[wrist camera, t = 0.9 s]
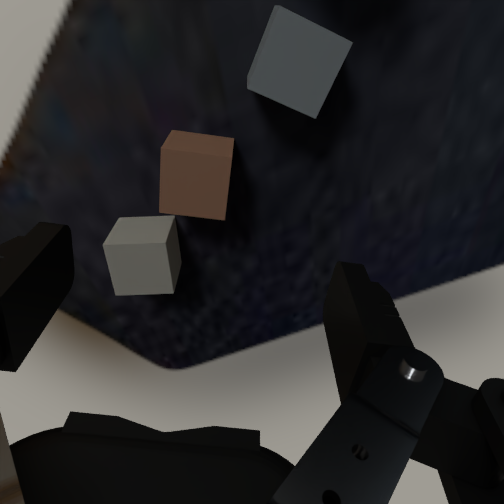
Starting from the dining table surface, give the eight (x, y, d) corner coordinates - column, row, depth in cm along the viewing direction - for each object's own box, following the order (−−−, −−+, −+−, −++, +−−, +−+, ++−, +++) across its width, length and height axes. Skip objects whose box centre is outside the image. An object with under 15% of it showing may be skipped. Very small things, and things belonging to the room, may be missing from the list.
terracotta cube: (234, 138, 33) (232, 157, 29) (227, 194, 36) (224, 220, 32) (172, 129, 33) (160, 148, 29) (170, 187, 35) (159, 212, 31)
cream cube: (174, 215, 37) (165, 242, 33) (181, 262, 39) (173, 293, 35) (119, 217, 37) (102, 244, 33) (129, 264, 39) (115, 295, 35)
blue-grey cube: (337, 37, 30) (352, 42, 25) (306, 103, 32) (315, 118, 28) (274, 5, 29) (279, 5, 24) (247, 76, 31) (247, 88, 27)
